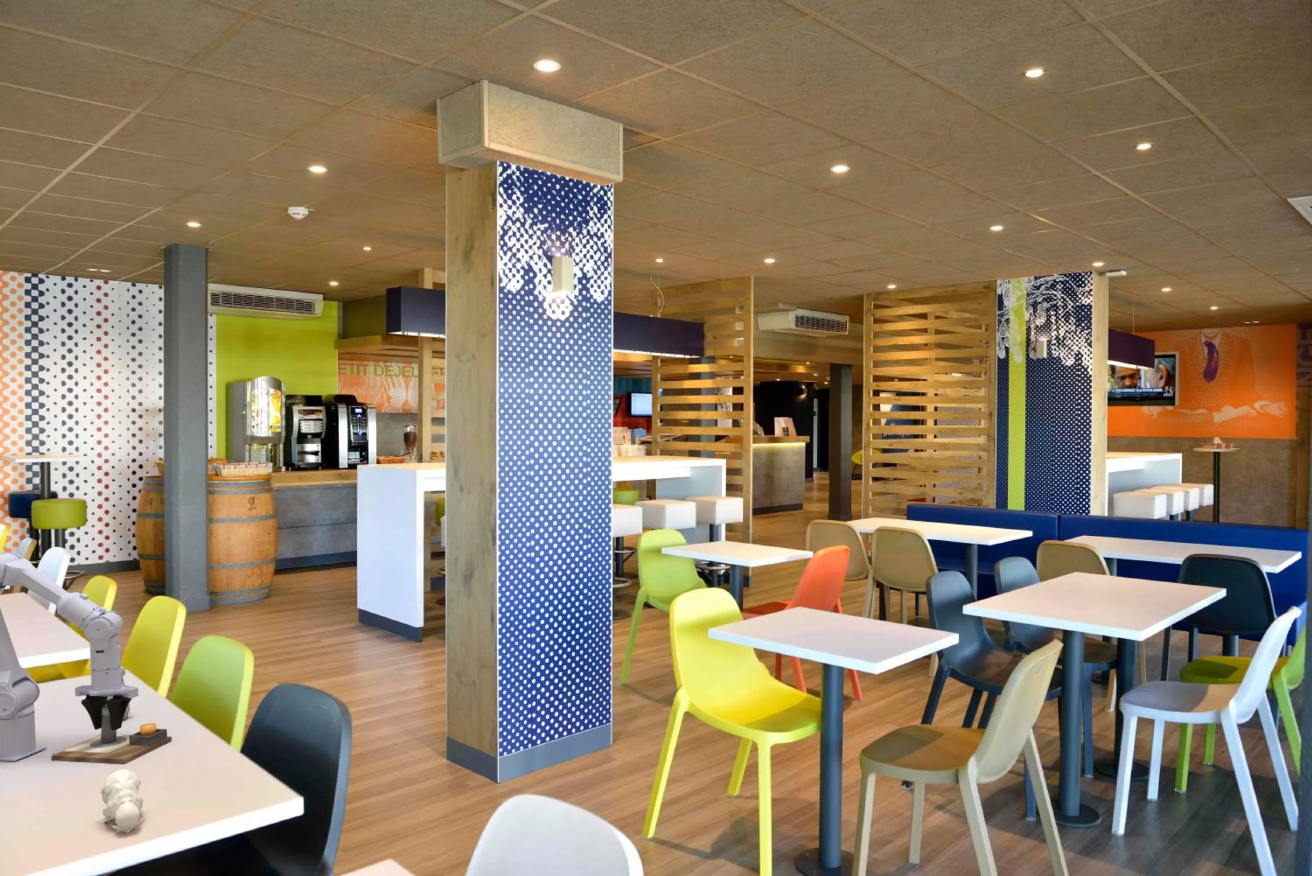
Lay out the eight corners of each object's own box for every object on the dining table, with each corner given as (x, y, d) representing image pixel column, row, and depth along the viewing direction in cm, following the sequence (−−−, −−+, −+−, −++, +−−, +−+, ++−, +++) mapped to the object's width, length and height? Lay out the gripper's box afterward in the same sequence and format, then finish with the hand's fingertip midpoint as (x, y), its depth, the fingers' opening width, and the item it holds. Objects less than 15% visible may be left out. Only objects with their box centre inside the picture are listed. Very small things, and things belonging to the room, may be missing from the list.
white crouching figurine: (138, 762, 168) (149, 787, 158) (139, 806, 168) (150, 834, 159) (99, 770, 164) (107, 797, 154) (100, 816, 165) (108, 845, 155)
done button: (136, 736, 201) (136, 727, 201) (147, 731, 204) (147, 722, 204) (149, 737, 200) (148, 728, 200) (159, 732, 203) (159, 723, 203)
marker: (96, 742, 201) (98, 708, 201) (107, 738, 204) (109, 704, 204) (109, 744, 200) (111, 709, 200) (119, 739, 203) (121, 706, 203)
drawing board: (51, 760, 195) (50, 746, 195) (102, 737, 208) (102, 724, 208) (124, 764, 191) (123, 749, 191) (171, 741, 205) (171, 727, 205)
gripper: (62, 671, 199) (65, 733, 199) (120, 673, 196) (122, 736, 196) (88, 663, 206) (90, 723, 206) (144, 665, 203) (146, 725, 203)
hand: (107, 728), depth 202 cm, fingers open, 4 cm apart
